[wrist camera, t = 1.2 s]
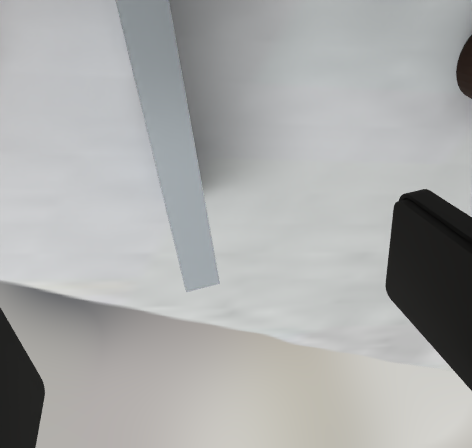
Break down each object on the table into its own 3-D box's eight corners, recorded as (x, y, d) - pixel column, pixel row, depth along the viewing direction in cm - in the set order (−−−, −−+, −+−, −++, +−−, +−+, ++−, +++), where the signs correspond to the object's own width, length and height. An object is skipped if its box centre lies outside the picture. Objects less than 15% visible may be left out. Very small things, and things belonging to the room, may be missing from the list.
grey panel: (101, -70, 23) (89, -109, 14) (136, -74, 23) (148, -115, 14) (167, 205, 32) (186, 292, 23) (191, 199, 33) (219, 283, 23)
